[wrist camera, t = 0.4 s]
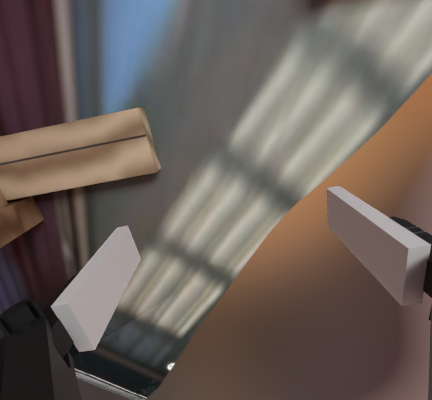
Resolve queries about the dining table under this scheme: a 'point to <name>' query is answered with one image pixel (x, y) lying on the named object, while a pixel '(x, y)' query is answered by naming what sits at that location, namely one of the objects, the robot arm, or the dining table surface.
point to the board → (77, 154)
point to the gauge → (17, 217)
